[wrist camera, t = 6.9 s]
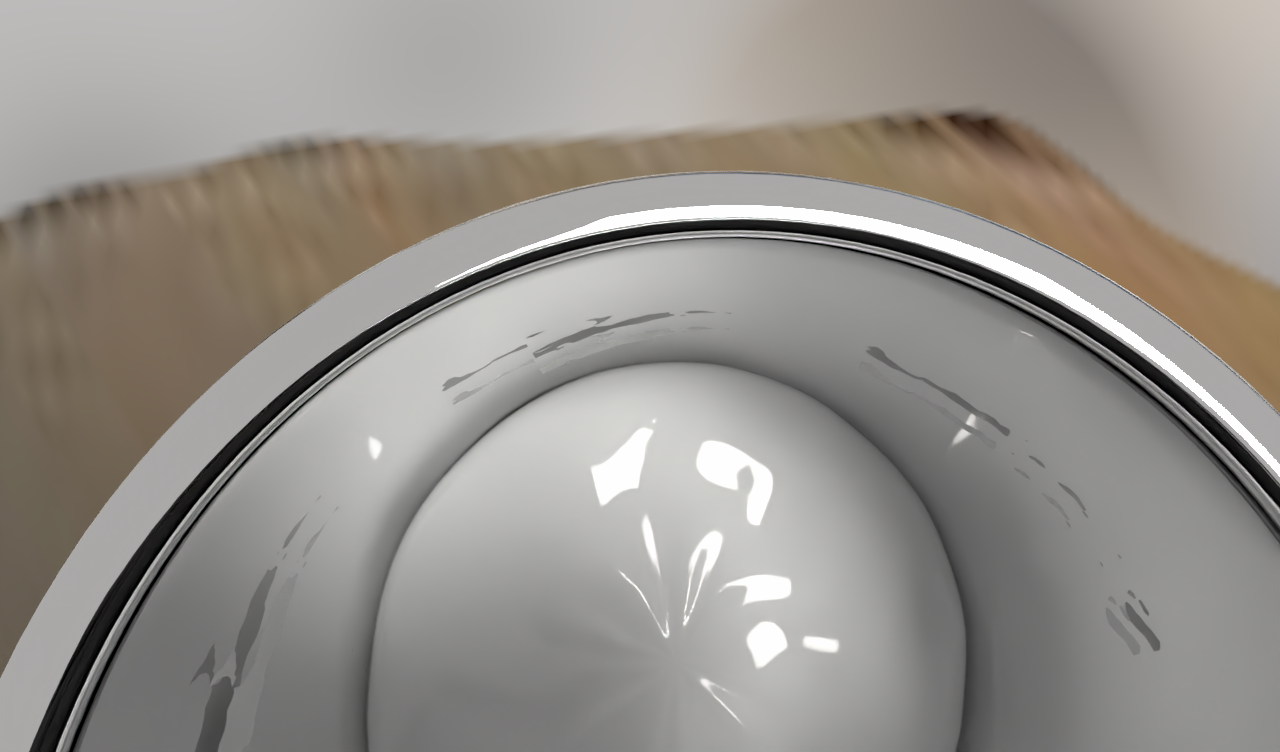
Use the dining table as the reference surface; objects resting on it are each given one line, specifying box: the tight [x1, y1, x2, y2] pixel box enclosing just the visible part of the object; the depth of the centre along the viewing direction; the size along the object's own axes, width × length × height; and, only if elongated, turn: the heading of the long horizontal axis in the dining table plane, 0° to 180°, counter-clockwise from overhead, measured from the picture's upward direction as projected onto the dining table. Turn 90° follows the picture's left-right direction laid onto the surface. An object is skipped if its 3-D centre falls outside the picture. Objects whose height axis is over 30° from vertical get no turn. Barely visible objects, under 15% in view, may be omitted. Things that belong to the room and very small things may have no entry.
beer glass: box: [0, 171, 1280, 752], centre depth 10 cm, size 7×7×15 cm
